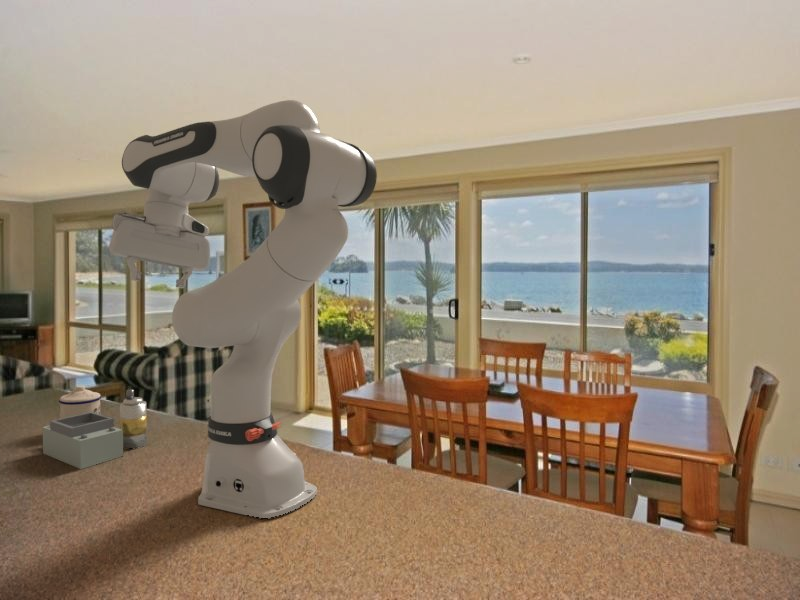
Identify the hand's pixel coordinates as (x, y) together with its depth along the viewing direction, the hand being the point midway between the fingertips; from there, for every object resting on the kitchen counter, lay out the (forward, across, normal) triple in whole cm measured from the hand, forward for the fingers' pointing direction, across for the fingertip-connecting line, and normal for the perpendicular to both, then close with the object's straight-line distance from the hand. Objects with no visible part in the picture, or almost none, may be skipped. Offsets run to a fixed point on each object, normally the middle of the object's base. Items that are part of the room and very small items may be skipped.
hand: (158, 284), depth 112 cm
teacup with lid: (+34, 0, +40) cm, 52 cm away
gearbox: (+37, -5, +23) cm, 44 cm away
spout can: (+36, +6, +20) cm, 41 cm away
